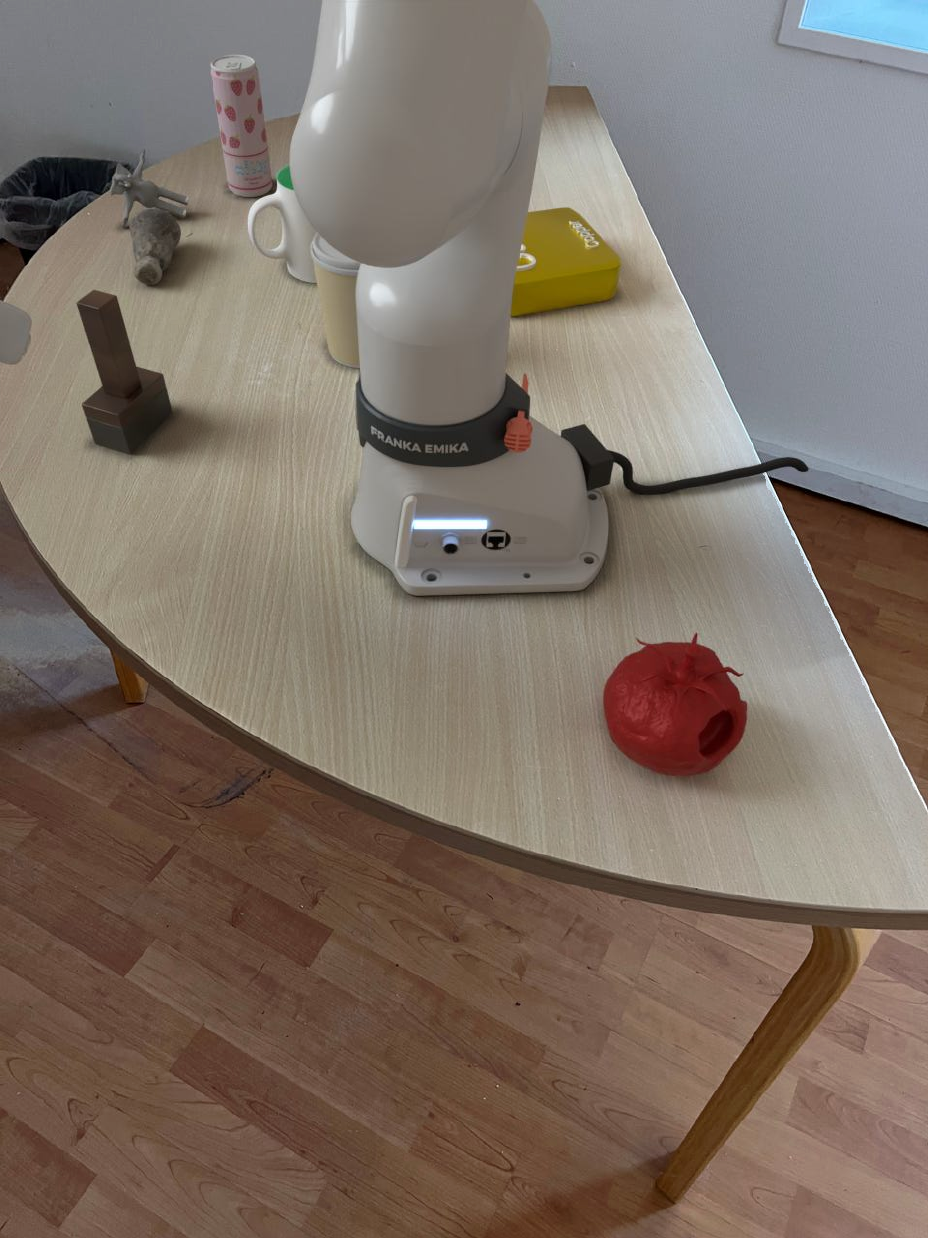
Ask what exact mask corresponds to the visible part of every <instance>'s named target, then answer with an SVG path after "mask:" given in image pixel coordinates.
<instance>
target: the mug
mask: <svg viewBox="0 0 928 1238" xmlns="http://www.w3.org/2000/svg"><path fill="white" fill-rule="evenodd" d="M271 207H272V208H276V209H277V210H278V213H279V215H280V220H281V232H282V235H281V240H280V243H279V245H278V246H277V247H275V248H266V247H264V246H262V245H261V244H260V243H259V241H258V239H257V235H256V221H257V218H258V216H259V214H260V213H261V212H262V211H264V210H265V209H268V208H271ZM247 231H248V236H249V238H250V241H251V242H252V243H251V244H252V245H253V246H254V248H255V249H256V250H257V251H258V252H259V253H260V254H261V255H263V256H264V257H267V258H270V259H273V260H283V259H284V260H286V265H287V270H288V272H289V274H290V275H291V276H292V277H294V278H295V279H297V280H300V281H303V282H305V283H306V282H307V283H311V284H317V280H316V274H315V268H314V260H313V258H312V255H311V244H312V241H313V238H314V236H315V234H316V233H317V231H316V230H315V229H314V228H313V226H312V225H311V223H310V222H309V221H308V219H307V217H306V216H305V214H304V212H303V210H302V209H301V207H300V204H299V202H298V200H297V197H296V195H295V192H294V188H293V184H292V180H291V174H290V165H289V164H288V165H285V166H283V167H282V168H281V169H280V170H279V171H278V172H277V173H276V191H275V192H274V193H273V194H269V195H265V196H263V197H260V198H259V199H257V200H256V201H255V202H254V203H253V204H252V206H251V207H250V209H249V211H248V215H247Z"/></svg>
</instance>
